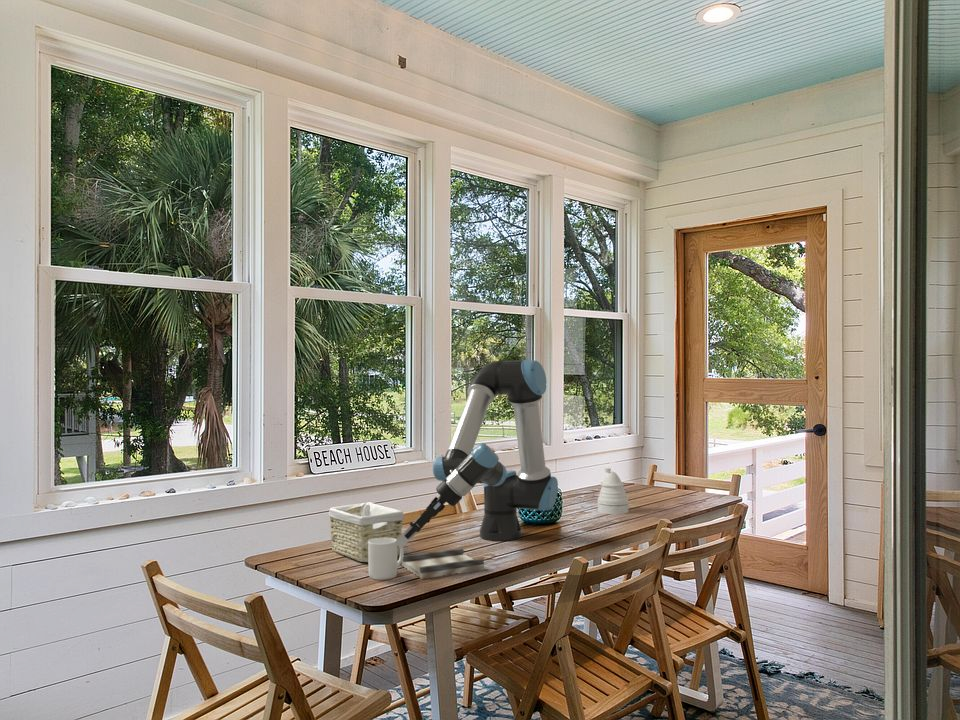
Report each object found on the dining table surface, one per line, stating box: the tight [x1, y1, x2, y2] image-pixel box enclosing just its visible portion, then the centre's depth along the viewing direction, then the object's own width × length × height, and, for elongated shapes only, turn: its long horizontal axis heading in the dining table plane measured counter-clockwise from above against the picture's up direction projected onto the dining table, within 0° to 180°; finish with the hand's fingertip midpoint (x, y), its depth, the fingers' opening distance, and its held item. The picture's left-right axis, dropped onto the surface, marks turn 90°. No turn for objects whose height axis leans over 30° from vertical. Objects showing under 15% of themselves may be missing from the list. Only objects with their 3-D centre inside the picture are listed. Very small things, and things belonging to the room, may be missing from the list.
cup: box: [367, 538, 405, 581], centre depth 202 cm, size 8×12×10 cm
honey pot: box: [597, 467, 629, 515], centre depth 295 cm, size 13×13×18 cm
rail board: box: [401, 548, 485, 580], centre depth 209 cm, size 20×16×3 cm
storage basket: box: [328, 501, 405, 563], centre depth 227 cm, size 24×16×15 cm
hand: (403, 539), depth 202 cm, fingers open, 13 cm apart
